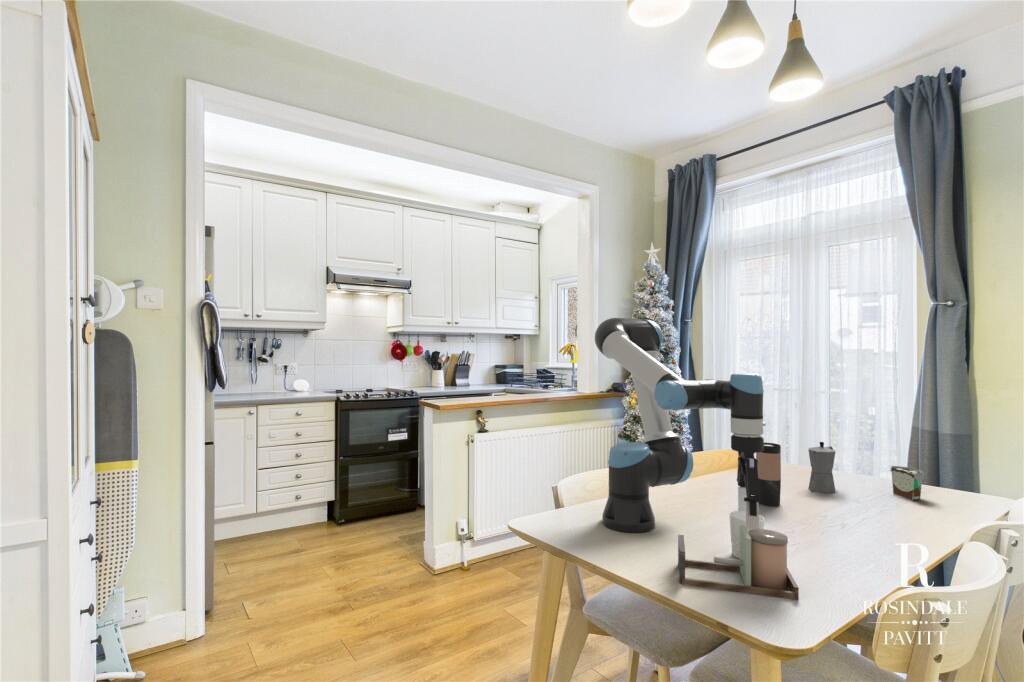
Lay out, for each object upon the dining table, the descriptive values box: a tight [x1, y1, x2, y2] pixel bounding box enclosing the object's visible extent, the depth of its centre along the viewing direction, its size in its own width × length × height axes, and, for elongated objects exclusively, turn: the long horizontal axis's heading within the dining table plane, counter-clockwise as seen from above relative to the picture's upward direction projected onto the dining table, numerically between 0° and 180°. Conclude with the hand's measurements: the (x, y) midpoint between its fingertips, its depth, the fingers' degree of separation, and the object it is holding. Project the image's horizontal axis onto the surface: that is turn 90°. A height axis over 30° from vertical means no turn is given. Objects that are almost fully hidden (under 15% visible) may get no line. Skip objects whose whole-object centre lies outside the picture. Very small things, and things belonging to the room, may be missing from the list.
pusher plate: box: [713, 525, 752, 586], centre depth 115 cm, size 7×9×11 cm
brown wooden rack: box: [677, 534, 800, 601], centre depth 115 cm, size 23×12×7 cm, turn 73°
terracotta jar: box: [748, 528, 789, 591], centre depth 113 cm, size 8×8×11 cm
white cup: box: [729, 510, 765, 560], centre depth 129 cm, size 8×8×10 cm
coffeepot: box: [807, 441, 837, 494], centre depth 194 cm, size 15×9×18 cm, turn 126°
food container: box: [889, 465, 925, 502], centre depth 184 cm, size 12×6×10 cm, turn 179°
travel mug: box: [755, 442, 782, 507], centre depth 175 cm, size 8×8×20 cm
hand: (748, 520), depth 129 cm, fingers open, 13 cm apart
